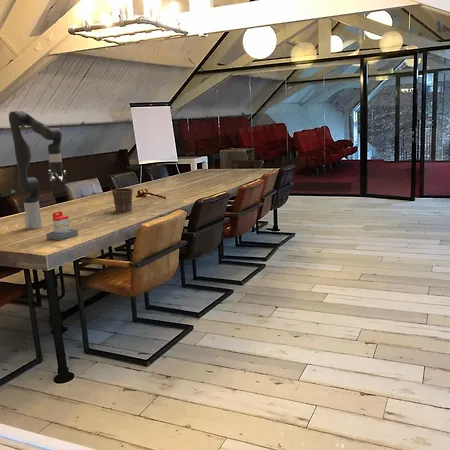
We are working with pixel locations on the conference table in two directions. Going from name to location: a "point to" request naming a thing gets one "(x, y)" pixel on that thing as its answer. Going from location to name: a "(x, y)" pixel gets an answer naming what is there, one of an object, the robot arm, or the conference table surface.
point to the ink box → (60, 223)
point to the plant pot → (122, 199)
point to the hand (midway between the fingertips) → (58, 187)
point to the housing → (62, 235)
